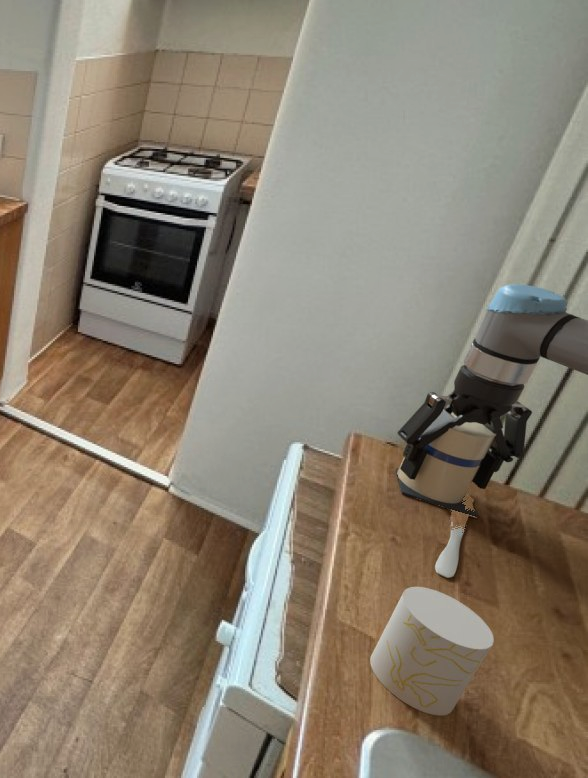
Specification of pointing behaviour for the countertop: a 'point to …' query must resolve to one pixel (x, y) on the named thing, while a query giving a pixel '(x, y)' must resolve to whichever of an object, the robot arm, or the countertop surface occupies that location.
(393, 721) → the countertop surface
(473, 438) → the blue-striped cream cylinder
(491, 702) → the countertop surface
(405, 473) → the robot arm
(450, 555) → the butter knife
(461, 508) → the mat
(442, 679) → the cup
